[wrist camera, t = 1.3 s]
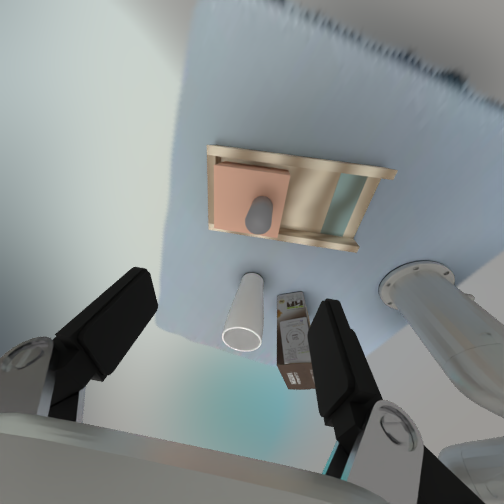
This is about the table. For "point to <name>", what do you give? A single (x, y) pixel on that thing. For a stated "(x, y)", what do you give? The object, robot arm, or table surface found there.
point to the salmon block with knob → (249, 198)
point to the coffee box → (294, 341)
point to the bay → (310, 195)
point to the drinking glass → (246, 315)
